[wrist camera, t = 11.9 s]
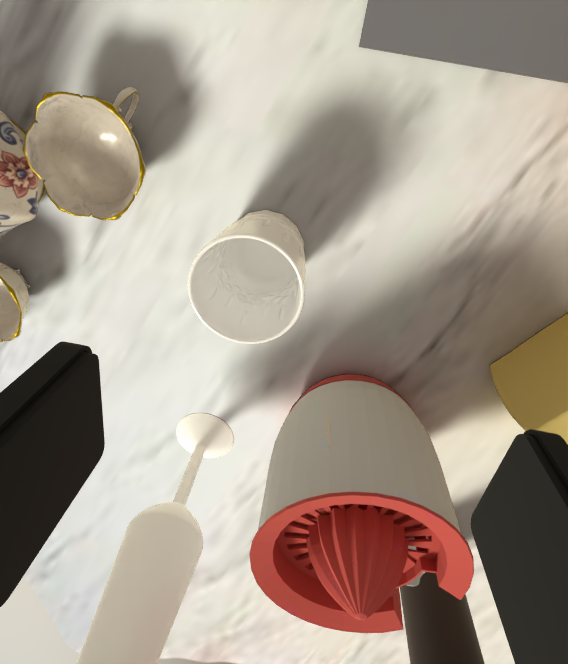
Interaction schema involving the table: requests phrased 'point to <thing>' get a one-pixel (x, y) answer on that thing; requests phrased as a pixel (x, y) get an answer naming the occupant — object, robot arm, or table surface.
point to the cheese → (537, 380)
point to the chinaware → (64, 174)
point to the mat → (475, 33)
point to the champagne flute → (154, 563)
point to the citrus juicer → (355, 510)
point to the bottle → (438, 625)
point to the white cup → (250, 279)
